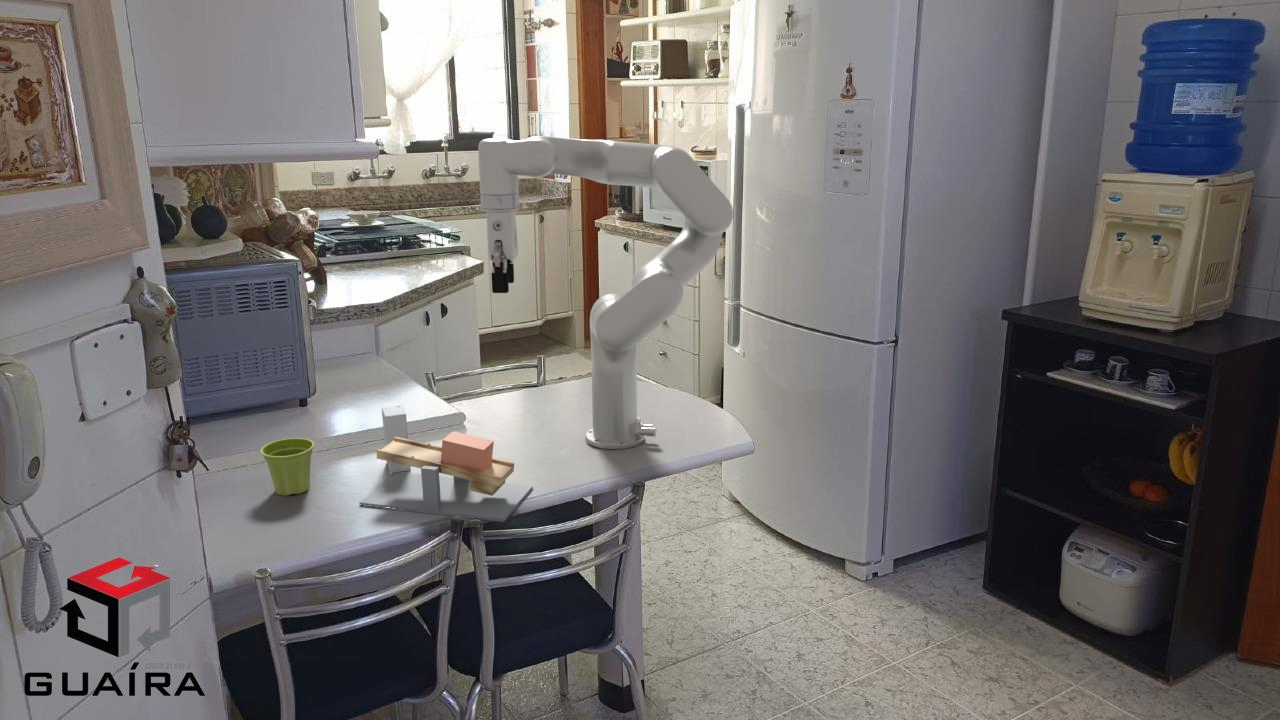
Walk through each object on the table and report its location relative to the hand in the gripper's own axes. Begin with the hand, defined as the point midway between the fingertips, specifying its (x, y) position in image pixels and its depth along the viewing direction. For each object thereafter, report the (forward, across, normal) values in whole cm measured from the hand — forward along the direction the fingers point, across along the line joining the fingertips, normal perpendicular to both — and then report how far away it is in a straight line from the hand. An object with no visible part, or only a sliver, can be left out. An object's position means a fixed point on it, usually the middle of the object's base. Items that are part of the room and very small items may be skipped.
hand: (503, 287), depth 191 cm
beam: (+30, -27, +9) cm, 41 cm away
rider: (+27, -28, +4) cm, 39 cm away
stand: (+34, -27, +8) cm, 44 cm away
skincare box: (+34, -12, +21) cm, 42 cm away
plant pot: (+34, -23, +38) cm, 56 cm away
